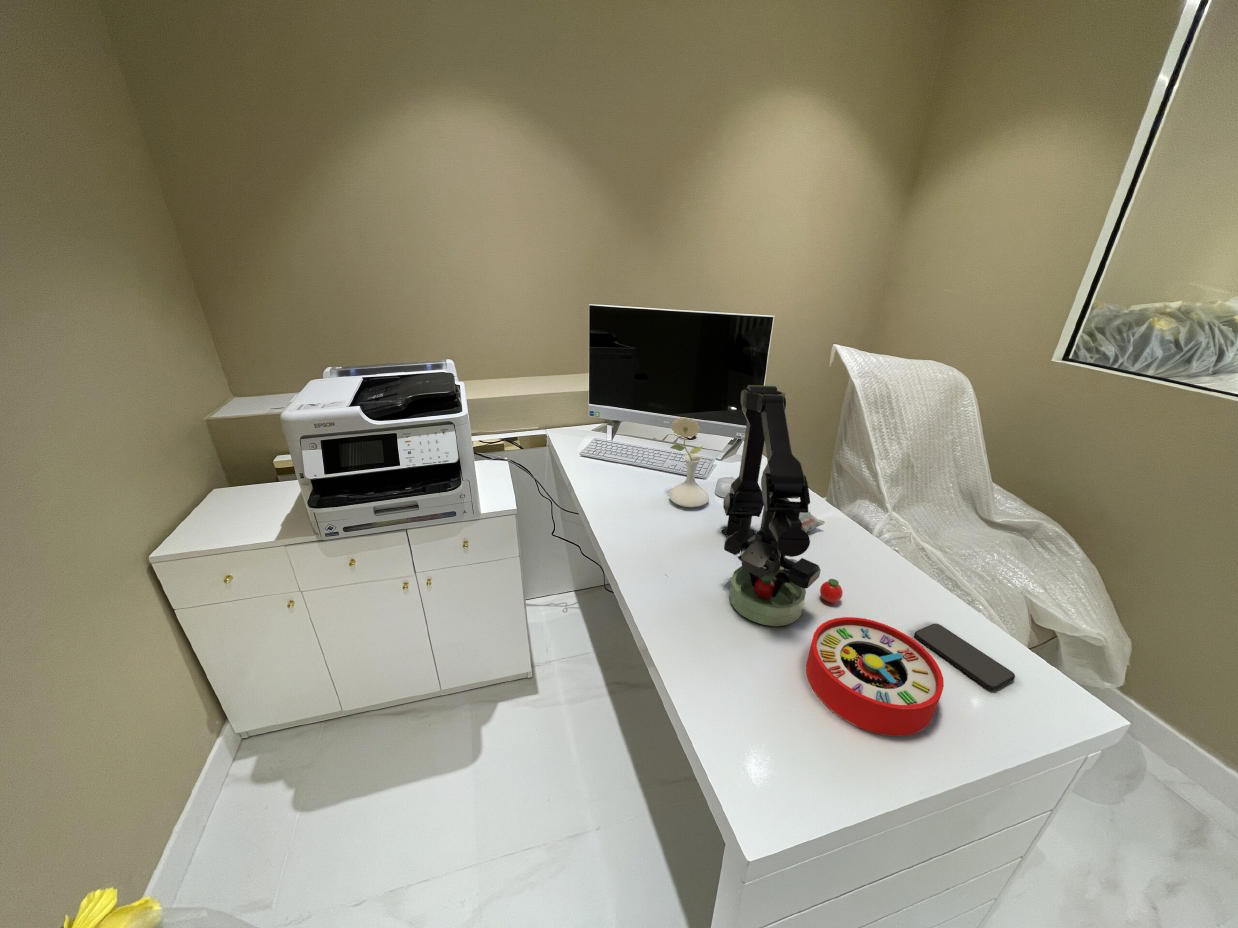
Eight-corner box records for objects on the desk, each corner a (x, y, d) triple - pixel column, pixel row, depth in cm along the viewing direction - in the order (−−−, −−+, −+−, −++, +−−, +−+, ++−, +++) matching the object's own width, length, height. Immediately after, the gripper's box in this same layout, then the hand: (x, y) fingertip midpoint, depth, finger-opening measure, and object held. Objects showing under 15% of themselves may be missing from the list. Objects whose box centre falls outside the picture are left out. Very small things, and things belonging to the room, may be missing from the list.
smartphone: (936, 621, 100) (1018, 674, 87) (935, 625, 100) (1016, 678, 88) (911, 632, 97) (993, 689, 84) (910, 636, 97) (991, 693, 85)
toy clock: (788, 627, 90) (879, 608, 95) (783, 652, 92) (872, 632, 98) (868, 722, 73) (974, 692, 78) (859, 749, 75) (963, 719, 80)
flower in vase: (714, 499, 146) (724, 418, 136) (698, 515, 138) (707, 429, 127) (674, 487, 153) (680, 409, 142) (656, 502, 144) (661, 419, 134)
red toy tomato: (817, 591, 109) (821, 573, 107) (838, 595, 108) (843, 577, 106) (819, 604, 105) (823, 586, 103) (841, 608, 104) (846, 589, 102)
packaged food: (822, 531, 132) (826, 514, 130) (794, 545, 125) (798, 528, 123) (794, 517, 138) (797, 501, 136) (766, 530, 132) (769, 513, 130)
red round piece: (759, 587, 109) (762, 569, 107) (778, 596, 106) (781, 578, 104) (748, 596, 106) (751, 578, 104) (767, 606, 103) (770, 587, 101)
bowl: (752, 573, 114) (755, 555, 112) (813, 604, 105) (818, 584, 103) (715, 602, 105) (718, 583, 103) (779, 639, 95) (783, 618, 93)
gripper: (712, 523, 99) (705, 587, 106) (801, 564, 88) (787, 633, 94) (742, 505, 107) (734, 565, 113) (828, 540, 95) (813, 605, 101)
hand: (764, 591), depth 105 cm, fingers closed on red round piece, 4 cm apart
